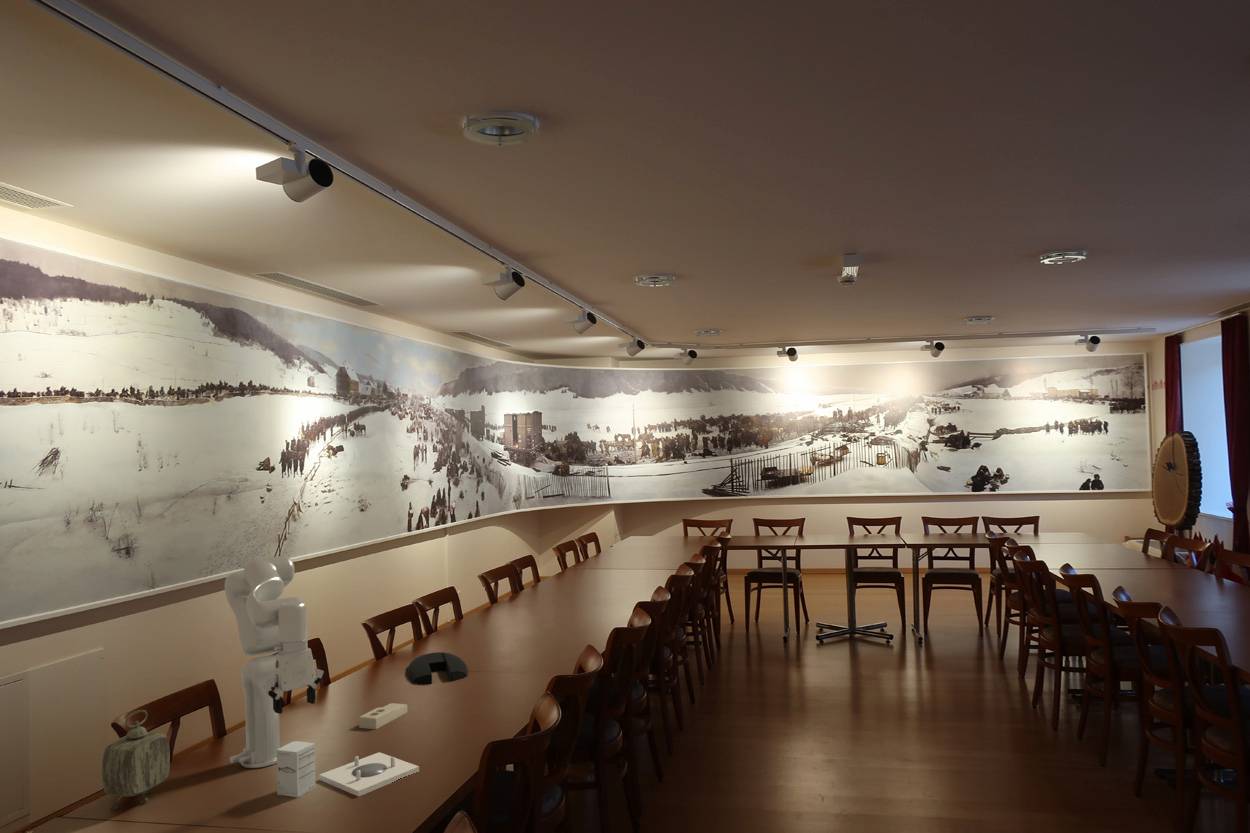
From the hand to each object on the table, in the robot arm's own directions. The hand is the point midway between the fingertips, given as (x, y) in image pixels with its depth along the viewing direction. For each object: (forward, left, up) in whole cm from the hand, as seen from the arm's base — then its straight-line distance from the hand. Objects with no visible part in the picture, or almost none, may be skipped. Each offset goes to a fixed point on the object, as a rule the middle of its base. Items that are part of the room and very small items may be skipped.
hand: (294, 707), depth 224 cm
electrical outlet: (+49, +32, -24) cm, 63 cm away
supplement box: (0, 0, -23) cm, 23 cm away
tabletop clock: (-29, +31, -23) cm, 49 cm away
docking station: (+100, +67, -24) cm, 123 cm away
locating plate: (+18, -8, -23) cm, 30 cm away
